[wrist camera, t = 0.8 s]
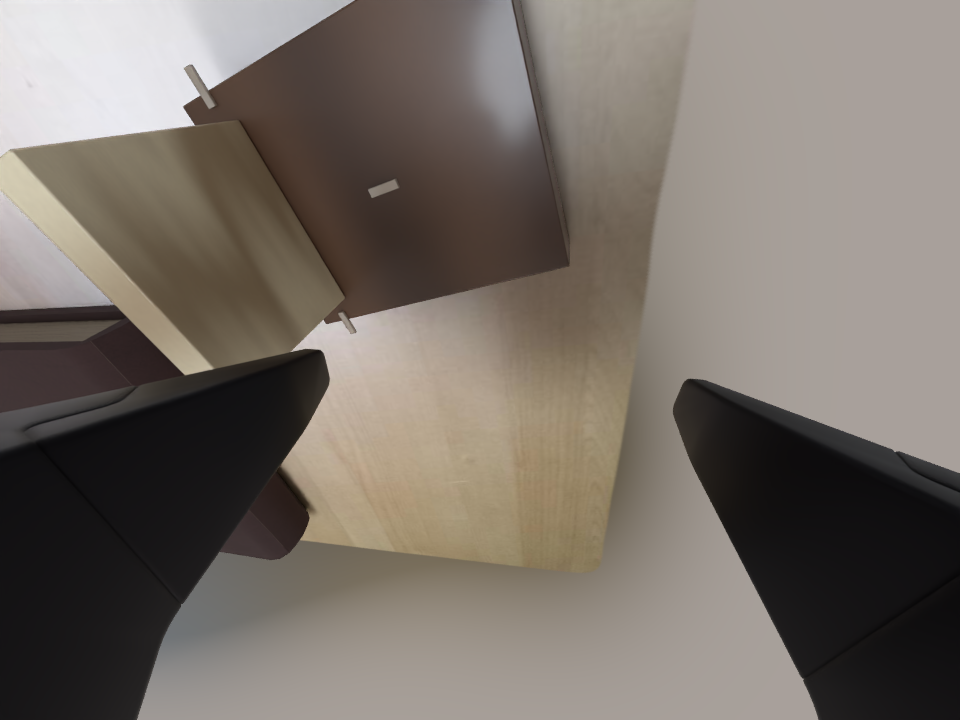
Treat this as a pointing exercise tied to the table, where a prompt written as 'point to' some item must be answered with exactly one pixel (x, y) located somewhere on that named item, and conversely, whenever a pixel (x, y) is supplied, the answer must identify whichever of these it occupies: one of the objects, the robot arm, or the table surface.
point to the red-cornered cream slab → (180, 238)
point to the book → (115, 365)
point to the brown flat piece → (406, 147)
